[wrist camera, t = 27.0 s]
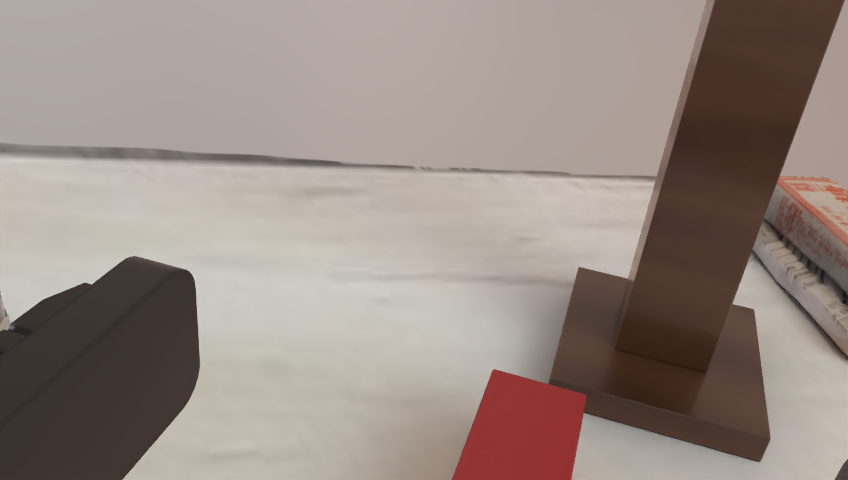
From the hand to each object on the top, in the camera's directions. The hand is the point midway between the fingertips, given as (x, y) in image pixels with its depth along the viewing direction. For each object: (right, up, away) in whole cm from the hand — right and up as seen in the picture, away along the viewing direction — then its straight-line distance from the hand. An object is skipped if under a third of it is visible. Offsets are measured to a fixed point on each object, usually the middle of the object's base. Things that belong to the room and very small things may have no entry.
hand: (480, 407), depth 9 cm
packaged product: (+29, -1, +45) cm, 54 cm away
